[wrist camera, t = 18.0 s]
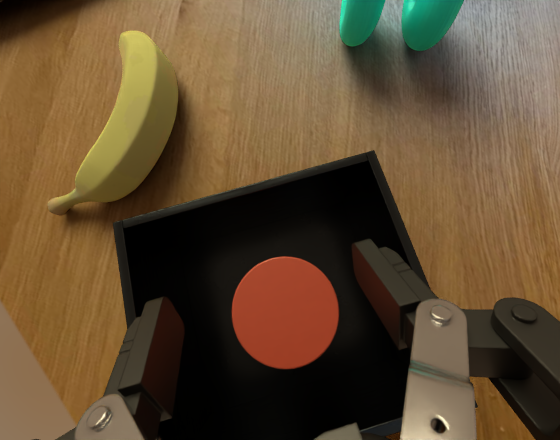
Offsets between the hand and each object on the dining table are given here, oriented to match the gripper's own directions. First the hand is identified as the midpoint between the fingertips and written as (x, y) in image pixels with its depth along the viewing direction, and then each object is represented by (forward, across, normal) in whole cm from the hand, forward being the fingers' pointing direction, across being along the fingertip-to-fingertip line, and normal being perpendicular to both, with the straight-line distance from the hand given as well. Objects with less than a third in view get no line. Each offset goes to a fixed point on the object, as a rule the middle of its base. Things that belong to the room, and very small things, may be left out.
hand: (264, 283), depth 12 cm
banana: (+24, +12, -4) cm, 27 cm away
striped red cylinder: (+8, -1, +10) cm, 13 cm away
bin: (+9, 0, +11) cm, 14 cm away
